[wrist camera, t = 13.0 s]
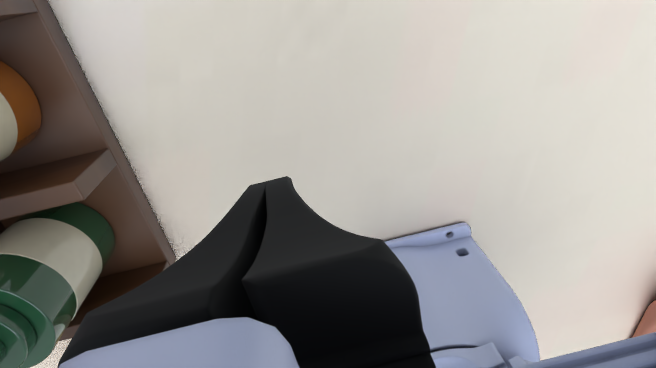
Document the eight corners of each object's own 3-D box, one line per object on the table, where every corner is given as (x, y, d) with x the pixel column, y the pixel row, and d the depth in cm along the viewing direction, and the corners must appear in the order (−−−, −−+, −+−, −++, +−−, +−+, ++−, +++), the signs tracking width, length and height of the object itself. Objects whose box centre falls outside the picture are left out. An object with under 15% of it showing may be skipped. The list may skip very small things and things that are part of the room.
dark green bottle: (90, 188, 21) (-57, 345, 12) (131, 260, 24) (34, 437, 14) (0, 210, 21) (-217, 384, 12) (50, 279, 24) (-100, 470, 14)
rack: (43, -8, 18) (-116, -6, 11) (176, 258, 25) (136, 366, 18) (-125, 32, 18) (-399, 62, 11) (57, 287, 25) (-31, 407, 18)
